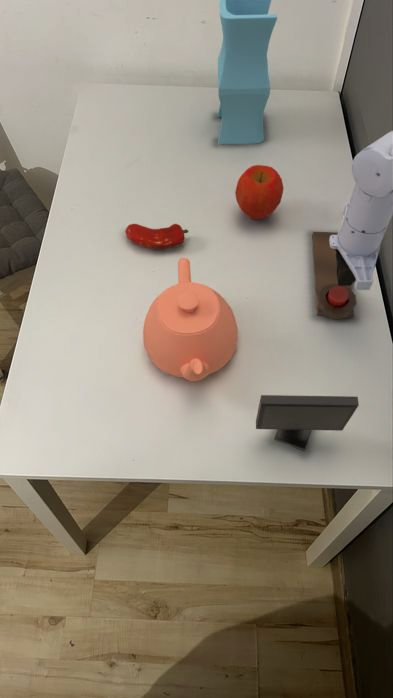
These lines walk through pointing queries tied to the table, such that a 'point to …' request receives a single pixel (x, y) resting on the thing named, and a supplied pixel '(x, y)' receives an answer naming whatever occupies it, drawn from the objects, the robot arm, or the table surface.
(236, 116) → the vase
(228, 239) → the table surface
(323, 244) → the brown board with ring
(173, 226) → the vegetable
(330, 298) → the power button
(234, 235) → the table surface
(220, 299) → the teapot
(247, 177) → the apple
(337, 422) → the panel
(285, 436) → the monitor stand
